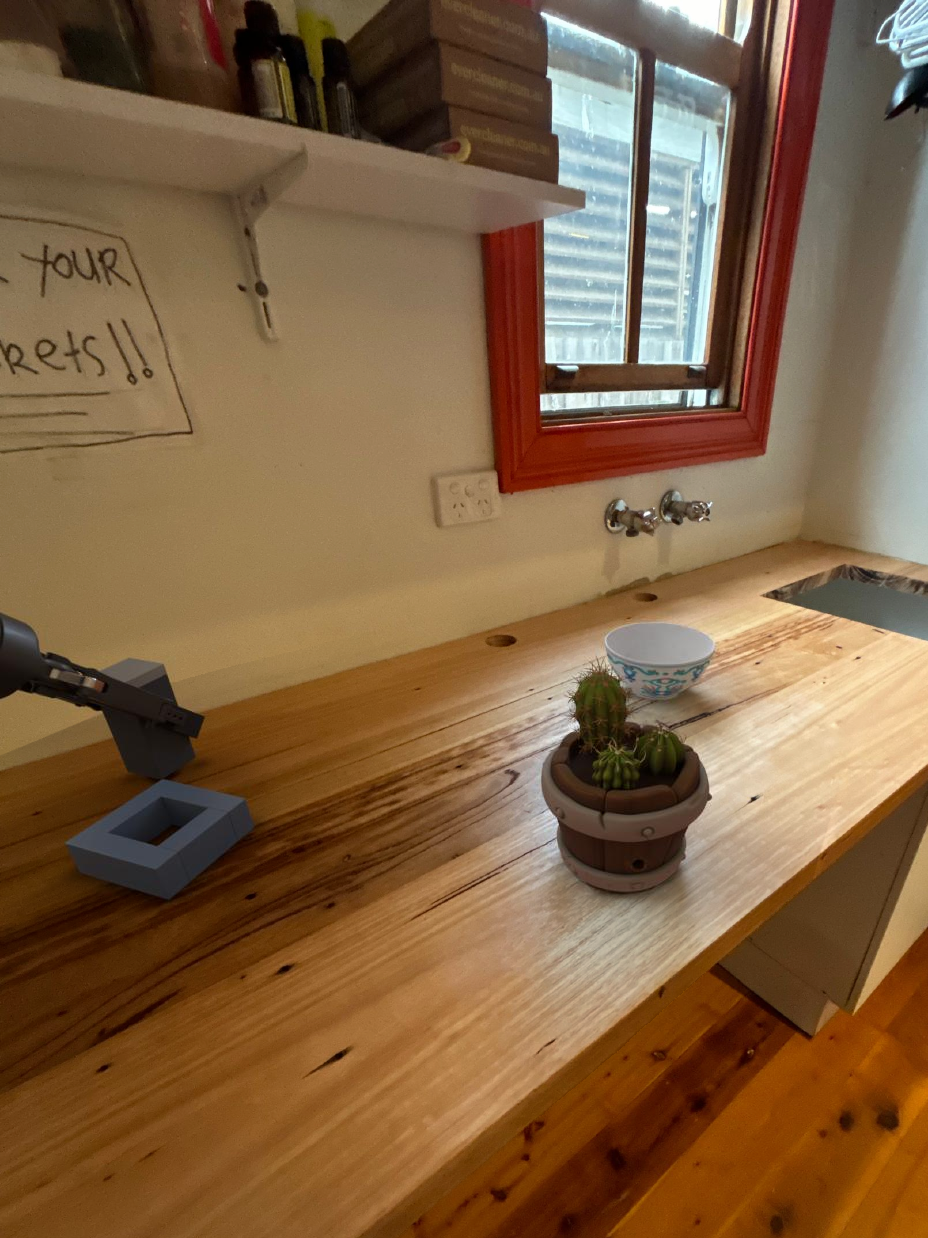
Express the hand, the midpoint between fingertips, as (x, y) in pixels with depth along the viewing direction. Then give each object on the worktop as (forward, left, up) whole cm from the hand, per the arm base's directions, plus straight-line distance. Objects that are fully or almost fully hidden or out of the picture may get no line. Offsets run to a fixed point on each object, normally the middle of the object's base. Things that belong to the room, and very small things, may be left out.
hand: (179, 722), depth 75 cm
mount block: (+14, -12, -5) cm, 19 cm away
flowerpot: (+53, +8, -5) cm, 54 cm away
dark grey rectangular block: (+1, -4, -4) cm, 5 cm away
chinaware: (+43, +43, -5) cm, 61 cm away
